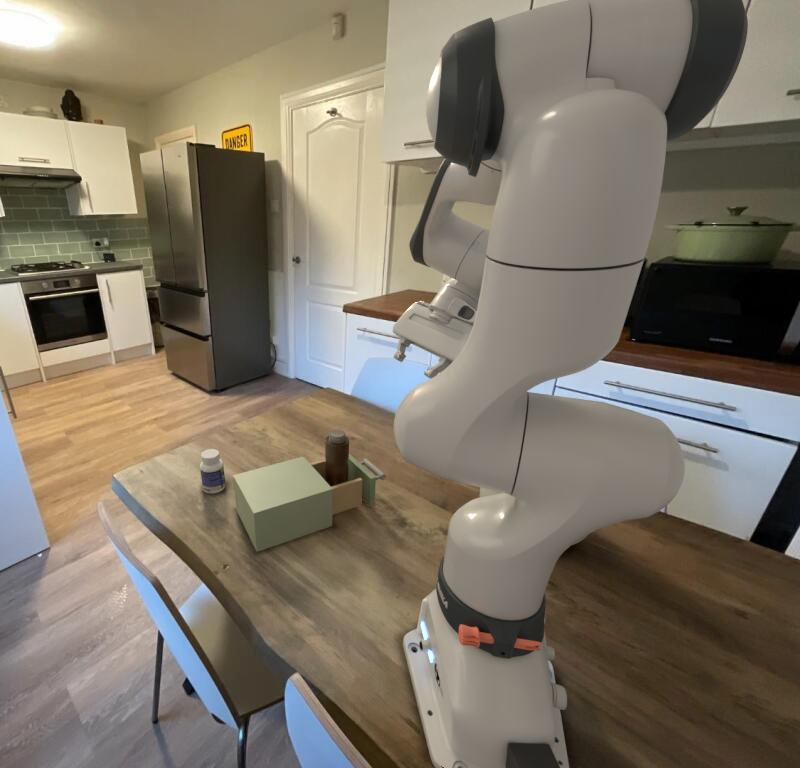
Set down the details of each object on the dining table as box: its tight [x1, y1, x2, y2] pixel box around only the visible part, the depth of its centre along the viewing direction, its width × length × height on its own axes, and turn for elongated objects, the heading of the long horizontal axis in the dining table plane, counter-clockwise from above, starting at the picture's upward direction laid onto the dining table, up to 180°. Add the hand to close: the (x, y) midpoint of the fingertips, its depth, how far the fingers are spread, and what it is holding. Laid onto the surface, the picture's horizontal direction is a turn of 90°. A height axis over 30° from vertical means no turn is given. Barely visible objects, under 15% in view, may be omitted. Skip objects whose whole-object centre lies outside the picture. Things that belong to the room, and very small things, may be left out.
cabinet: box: [232, 456, 333, 553], centre depth 81 cm, size 16×13×9 cm
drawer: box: [309, 453, 387, 516], centre depth 85 cm, size 19×12×7 cm, turn 114°
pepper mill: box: [324, 428, 350, 487], centre depth 84 cm, size 5×5×14 cm
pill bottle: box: [199, 448, 226, 494], centre depth 91 cm, size 5×5×9 cm
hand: (412, 368), depth 83 cm, fingers open, 8 cm apart
